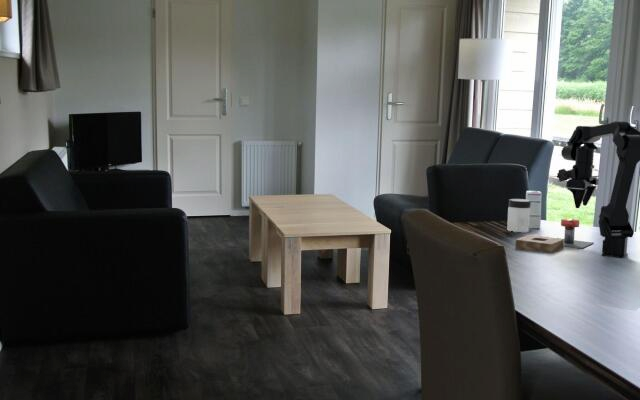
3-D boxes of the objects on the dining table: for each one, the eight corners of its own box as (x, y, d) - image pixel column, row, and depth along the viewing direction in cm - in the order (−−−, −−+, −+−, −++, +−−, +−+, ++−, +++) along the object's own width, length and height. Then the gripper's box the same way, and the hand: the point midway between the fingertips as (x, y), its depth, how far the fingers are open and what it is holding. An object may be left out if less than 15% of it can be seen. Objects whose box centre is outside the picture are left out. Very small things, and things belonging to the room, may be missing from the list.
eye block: (563, 247, 234) (563, 239, 234) (550, 253, 225) (551, 244, 225) (528, 243, 242) (529, 234, 241) (515, 248, 232) (515, 239, 232)
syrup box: (540, 228, 273) (542, 192, 271) (525, 228, 274) (527, 191, 272) (539, 226, 279) (541, 190, 277) (523, 225, 280) (525, 190, 278)
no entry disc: (563, 240, 246) (564, 217, 245) (580, 242, 243) (581, 219, 242) (557, 242, 241) (558, 219, 240) (574, 245, 238) (576, 221, 237)
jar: (511, 232, 263) (513, 201, 261) (502, 229, 271) (504, 198, 269) (533, 232, 264) (535, 201, 263) (524, 229, 272) (526, 198, 271)
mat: (593, 243, 243) (593, 242, 243) (581, 249, 233) (582, 247, 233) (556, 239, 251) (556, 237, 251) (543, 244, 241) (543, 242, 241)
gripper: (568, 159, 252) (565, 202, 254) (552, 162, 237) (549, 207, 239) (600, 161, 245) (597, 205, 247) (586, 164, 230) (582, 210, 232)
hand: (581, 206), depth 242 cm, fingers open, 9 cm apart
